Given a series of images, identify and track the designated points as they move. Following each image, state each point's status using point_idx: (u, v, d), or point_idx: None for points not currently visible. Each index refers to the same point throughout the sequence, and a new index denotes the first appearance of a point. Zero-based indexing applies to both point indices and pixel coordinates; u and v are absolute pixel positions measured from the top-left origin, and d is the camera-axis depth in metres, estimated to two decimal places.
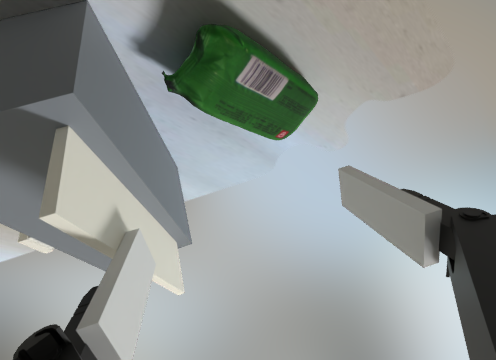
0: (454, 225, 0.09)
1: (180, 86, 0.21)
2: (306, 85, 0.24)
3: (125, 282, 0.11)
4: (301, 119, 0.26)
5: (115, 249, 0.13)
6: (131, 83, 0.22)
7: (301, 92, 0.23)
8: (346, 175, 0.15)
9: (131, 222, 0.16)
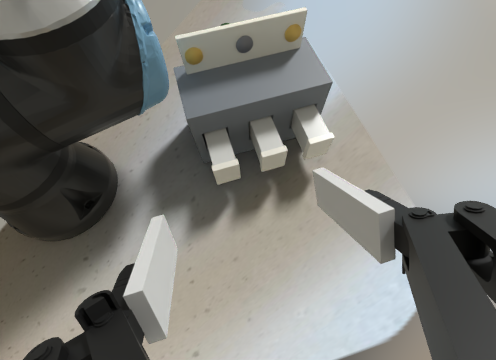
0: (406, 225, 0.10)
1: None
2: None
3: (157, 260, 0.12)
4: None
5: (210, 28, 0.29)
6: None
7: None
8: (319, 177, 0.16)
9: None
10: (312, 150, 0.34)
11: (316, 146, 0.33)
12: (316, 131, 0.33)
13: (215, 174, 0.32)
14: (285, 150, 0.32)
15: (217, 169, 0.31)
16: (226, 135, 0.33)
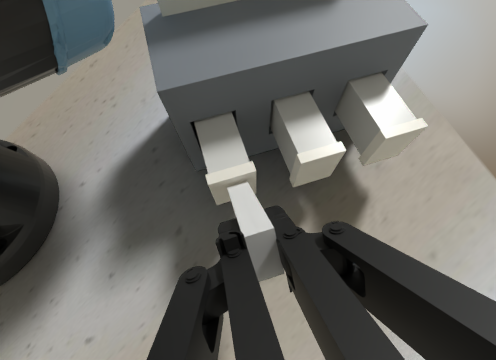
0: (283, 248, 0.10)
1: None
2: None
3: None
4: None
5: None
6: None
7: None
8: (240, 191, 0.17)
9: None
10: (382, 150, 0.20)
11: (392, 143, 0.19)
12: (392, 116, 0.19)
13: (213, 189, 0.18)
14: (341, 150, 0.17)
15: (216, 181, 0.17)
16: (232, 120, 0.19)
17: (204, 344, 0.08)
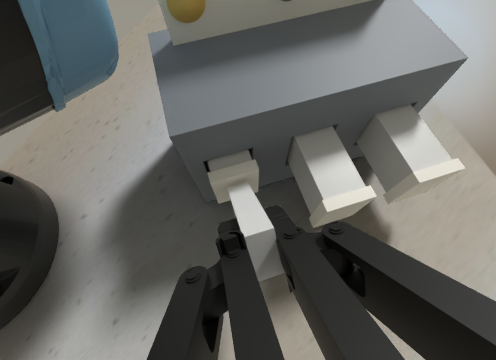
0: (283, 248, 0.10)
1: None
2: None
3: None
4: None
5: None
6: None
7: None
8: (239, 191, 0.16)
9: None
10: (412, 190, 0.18)
11: (424, 184, 0.17)
12: (424, 156, 0.17)
13: (215, 188, 0.17)
14: (371, 196, 0.16)
15: (218, 179, 0.17)
16: None
17: (204, 344, 0.08)
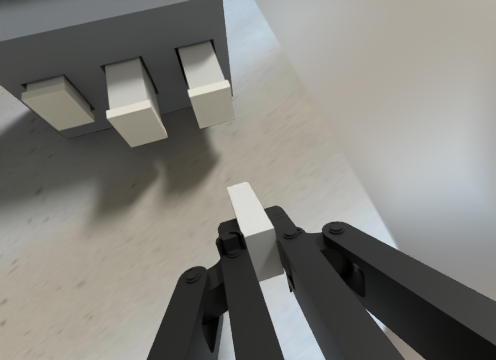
0: (283, 248, 0.10)
1: None
2: None
3: None
4: None
5: None
6: None
7: None
8: (240, 191, 0.16)
9: None
10: (203, 111, 0.22)
11: (205, 103, 0.21)
12: (204, 79, 0.21)
13: (33, 107, 0.21)
14: (147, 107, 0.19)
15: (29, 97, 0.20)
16: None
17: (204, 343, 0.08)
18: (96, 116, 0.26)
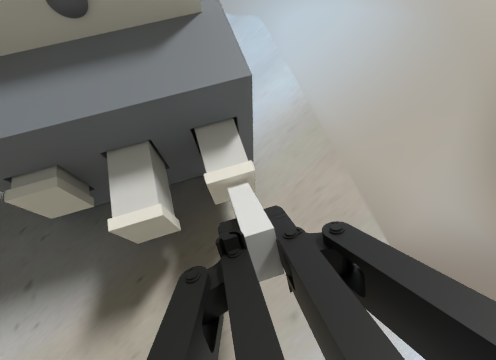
0: (283, 248, 0.10)
1: None
2: None
3: None
4: None
5: None
6: None
7: None
8: (239, 191, 0.16)
9: None
10: (220, 192, 0.18)
11: (224, 186, 0.18)
12: (223, 158, 0.17)
13: (19, 205, 0.17)
14: (158, 214, 0.16)
15: (14, 197, 0.16)
16: None
17: (204, 344, 0.08)
18: (96, 194, 0.22)
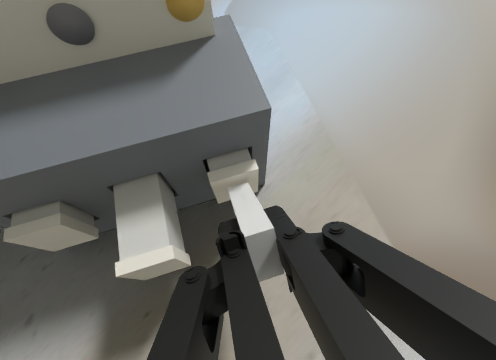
0: (283, 248, 0.10)
1: None
2: None
3: None
4: None
5: None
6: None
7: None
8: (239, 191, 0.16)
9: None
10: (224, 190, 0.18)
11: (228, 184, 0.18)
12: (226, 156, 0.17)
13: (20, 243, 0.16)
14: (169, 258, 0.15)
15: (14, 236, 0.15)
16: None
17: (204, 344, 0.08)
18: (101, 222, 0.21)
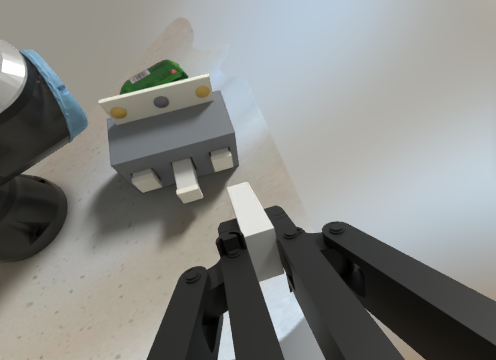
0: (283, 248, 0.10)
1: None
2: (157, 64, 0.55)
3: None
4: (170, 64, 0.54)
5: (128, 93, 0.36)
6: None
7: (155, 64, 0.54)
8: (240, 191, 0.17)
9: None
10: (217, 165, 0.42)
11: (219, 162, 0.42)
12: (218, 150, 0.42)
13: (135, 185, 0.40)
14: (196, 188, 0.39)
15: (135, 181, 0.39)
16: None
17: (204, 344, 0.08)
18: (161, 181, 0.45)
